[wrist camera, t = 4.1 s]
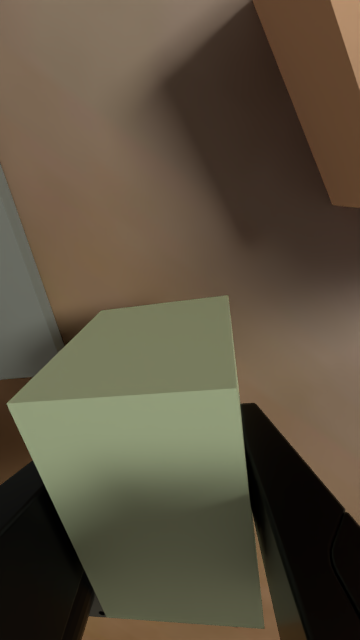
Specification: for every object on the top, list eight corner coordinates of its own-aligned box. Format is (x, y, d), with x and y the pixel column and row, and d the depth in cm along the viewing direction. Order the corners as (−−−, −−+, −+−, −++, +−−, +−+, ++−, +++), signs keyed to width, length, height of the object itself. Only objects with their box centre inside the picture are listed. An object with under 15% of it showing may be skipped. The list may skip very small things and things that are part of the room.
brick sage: (247, 466, 10) (264, 628, 6) (145, 468, 10) (106, 617, 7) (227, 295, 8) (237, 388, 4) (101, 310, 8) (7, 403, 5)
